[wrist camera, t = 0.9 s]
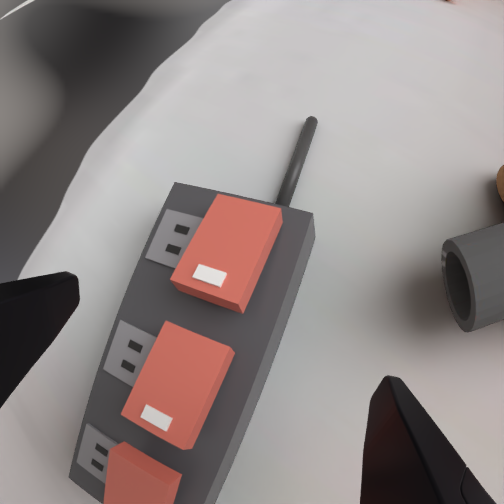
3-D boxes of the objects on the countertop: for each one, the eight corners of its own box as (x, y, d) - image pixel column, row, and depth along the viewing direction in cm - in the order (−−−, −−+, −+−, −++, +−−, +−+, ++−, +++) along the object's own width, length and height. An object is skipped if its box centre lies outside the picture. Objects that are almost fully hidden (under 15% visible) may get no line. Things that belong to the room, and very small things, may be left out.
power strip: (202, 528, 17) (178, 555, 13) (99, 468, 20) (63, 478, 16) (347, 128, 26) (347, 89, 21) (240, 111, 29) (227, 76, 24)
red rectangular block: (165, 532, 14) (153, 543, 13) (115, 502, 15) (101, 511, 14) (182, 474, 14) (168, 486, 13) (124, 441, 16) (108, 449, 14)
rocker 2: (192, 448, 15) (182, 450, 14) (132, 416, 16) (119, 414, 15) (235, 352, 17) (229, 346, 16) (174, 328, 19) (164, 319, 17)
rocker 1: (243, 313, 17) (237, 302, 15) (178, 290, 18) (168, 278, 17) (282, 222, 19) (280, 206, 18) (222, 208, 21) (217, 192, 19)
